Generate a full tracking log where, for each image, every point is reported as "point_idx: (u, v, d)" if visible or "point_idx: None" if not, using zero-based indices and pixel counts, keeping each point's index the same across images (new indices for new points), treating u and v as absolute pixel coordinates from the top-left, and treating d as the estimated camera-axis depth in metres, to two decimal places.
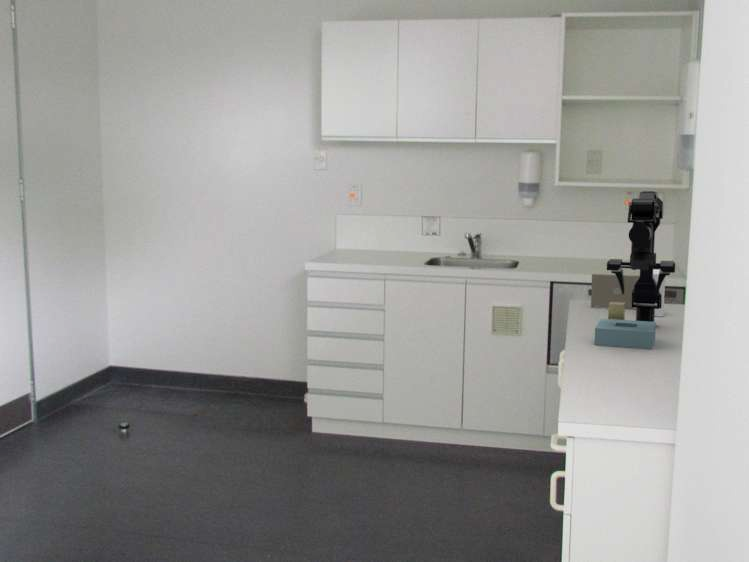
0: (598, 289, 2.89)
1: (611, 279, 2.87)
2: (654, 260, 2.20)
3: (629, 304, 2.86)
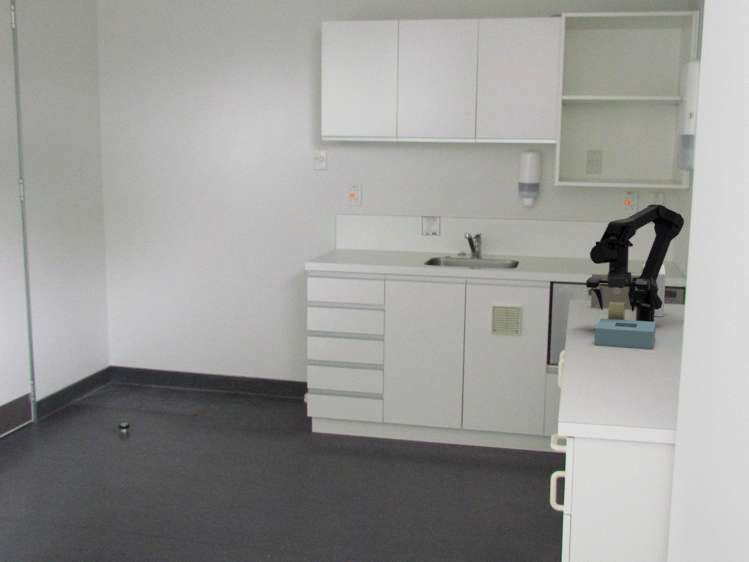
0: None
1: None
2: (629, 279, 2.38)
3: (629, 304, 2.86)
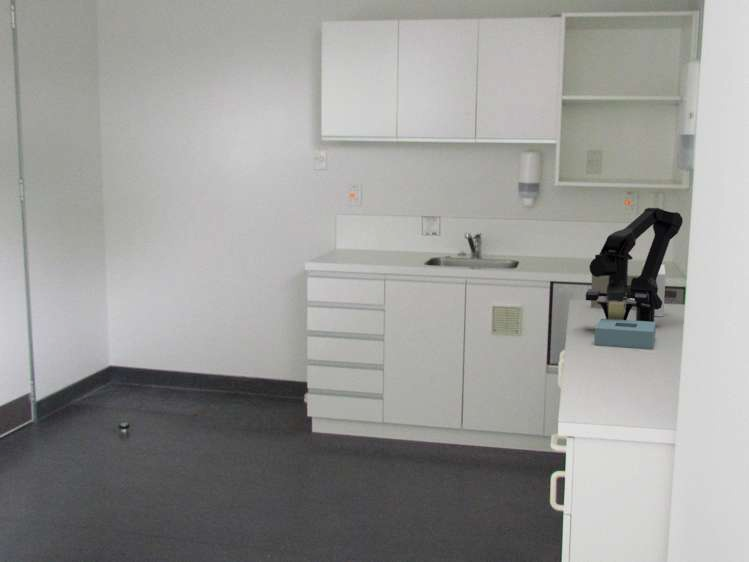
0: (598, 289, 2.89)
1: None
2: (628, 292, 2.38)
3: None
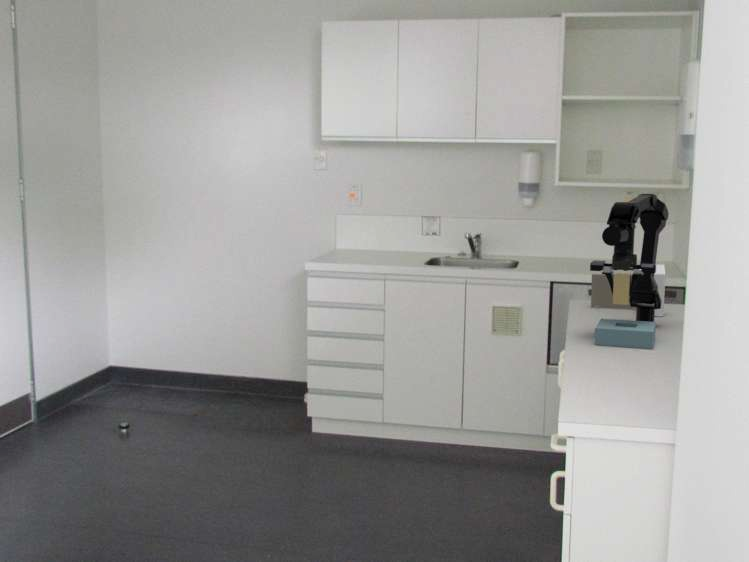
0: (598, 289, 2.89)
1: None
2: (634, 261, 2.28)
3: (629, 304, 2.86)
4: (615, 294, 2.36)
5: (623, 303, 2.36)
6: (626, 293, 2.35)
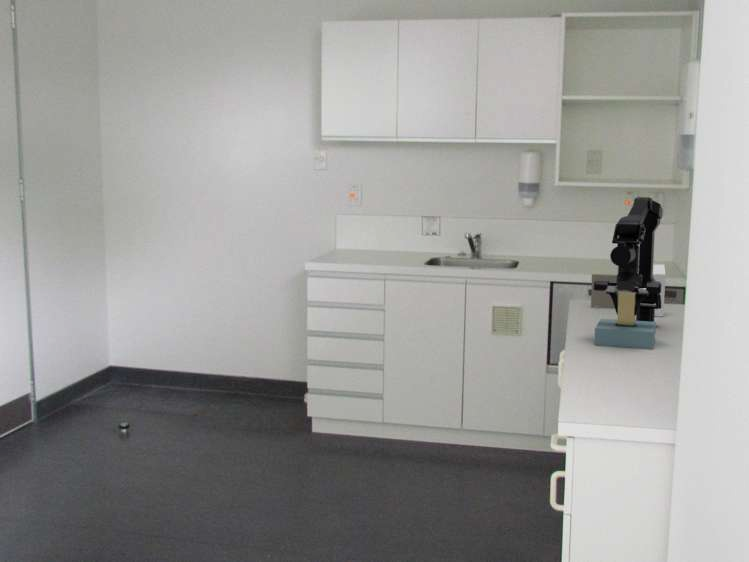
0: None
1: (611, 279, 2.87)
2: (640, 281, 2.22)
3: None
4: (619, 314, 2.30)
5: (628, 323, 2.30)
6: (631, 313, 2.29)
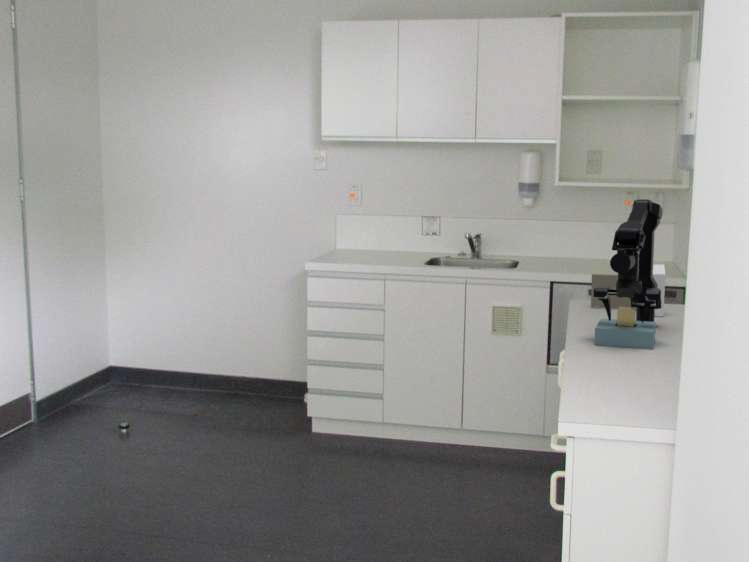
0: None
1: (611, 279, 2.87)
2: (640, 288, 2.22)
3: (629, 304, 2.86)
4: None
5: None
6: None
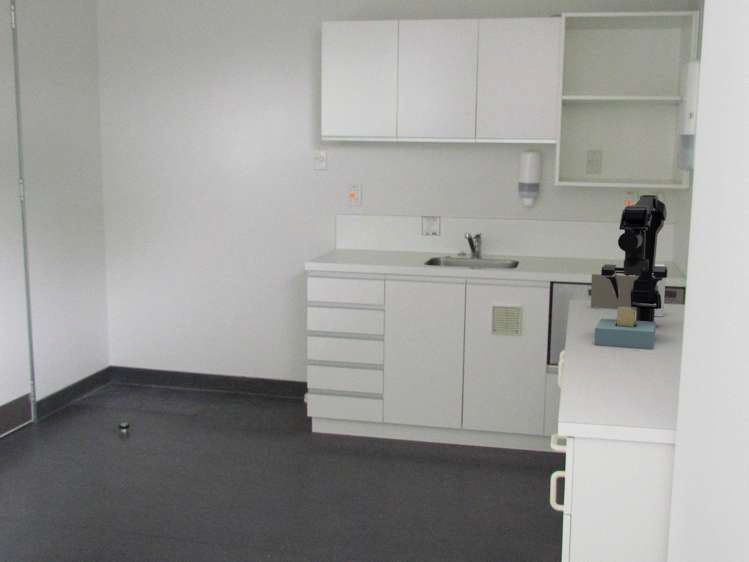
0: (598, 289, 2.89)
1: None
2: (647, 266, 2.28)
3: (629, 304, 2.86)
4: None
5: None
6: None
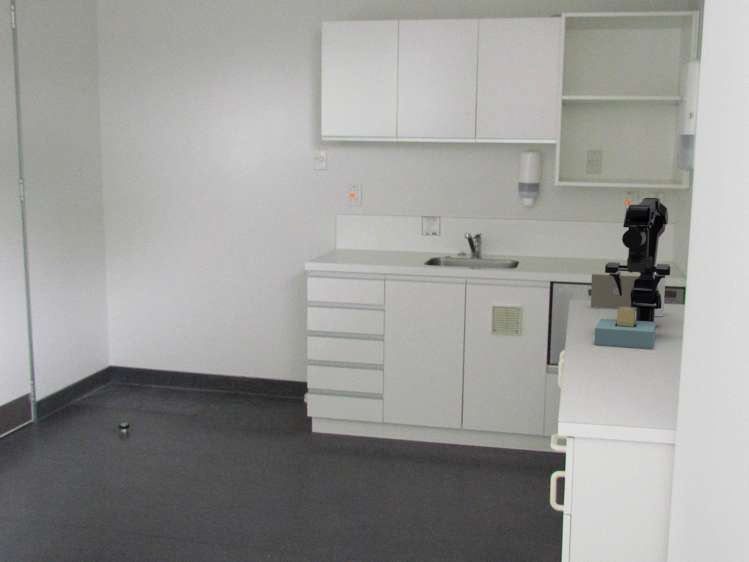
0: (598, 289, 2.89)
1: (611, 279, 2.87)
2: (650, 263, 2.31)
3: (629, 304, 2.85)
4: None
5: None
6: None
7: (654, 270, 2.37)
